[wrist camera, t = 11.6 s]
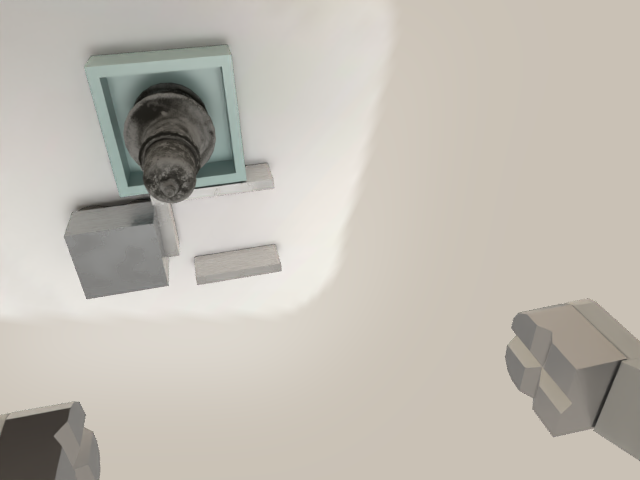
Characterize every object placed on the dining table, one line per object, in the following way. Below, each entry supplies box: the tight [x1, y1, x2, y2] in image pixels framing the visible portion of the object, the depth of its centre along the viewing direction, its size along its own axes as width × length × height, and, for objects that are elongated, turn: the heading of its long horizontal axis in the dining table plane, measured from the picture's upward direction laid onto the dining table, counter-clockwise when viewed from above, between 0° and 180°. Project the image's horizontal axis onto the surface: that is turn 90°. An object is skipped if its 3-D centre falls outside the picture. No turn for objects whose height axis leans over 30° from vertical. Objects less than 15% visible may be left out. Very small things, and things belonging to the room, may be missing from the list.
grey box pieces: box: [64, 163, 282, 299], centre depth 40 cm, size 15×9×4 cm, turn 92°
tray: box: [84, 45, 247, 197], centre depth 36 cm, size 9×9×3 cm
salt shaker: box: [123, 83, 216, 203], centre depth 32 cm, size 6×6×12 cm
